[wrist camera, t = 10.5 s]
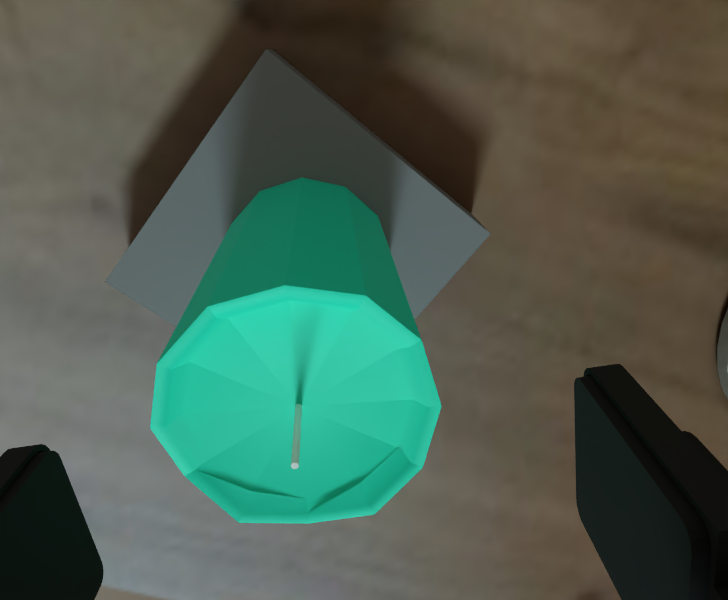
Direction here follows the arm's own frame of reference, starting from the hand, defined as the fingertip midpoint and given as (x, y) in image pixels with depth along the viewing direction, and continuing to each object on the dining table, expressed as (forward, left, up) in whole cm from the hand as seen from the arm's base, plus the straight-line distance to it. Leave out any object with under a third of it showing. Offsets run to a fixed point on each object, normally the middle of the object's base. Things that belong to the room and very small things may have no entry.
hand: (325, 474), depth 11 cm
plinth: (+1, 0, -15) cm, 15 cm away
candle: (0, 0, -12) cm, 12 cm away
